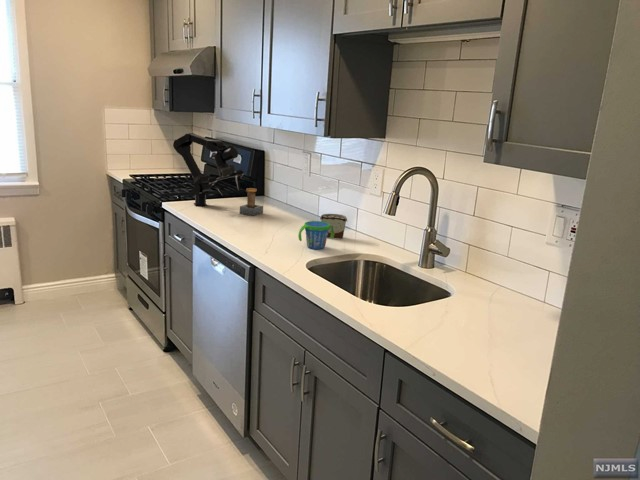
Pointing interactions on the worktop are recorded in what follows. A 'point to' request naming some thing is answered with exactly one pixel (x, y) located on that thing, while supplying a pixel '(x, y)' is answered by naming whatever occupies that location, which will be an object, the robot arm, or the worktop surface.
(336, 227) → the food container
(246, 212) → the block
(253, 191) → the pin
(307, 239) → the snack cup
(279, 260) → the worktop surface
